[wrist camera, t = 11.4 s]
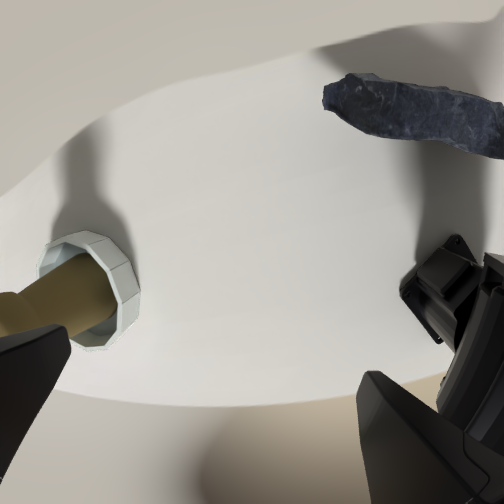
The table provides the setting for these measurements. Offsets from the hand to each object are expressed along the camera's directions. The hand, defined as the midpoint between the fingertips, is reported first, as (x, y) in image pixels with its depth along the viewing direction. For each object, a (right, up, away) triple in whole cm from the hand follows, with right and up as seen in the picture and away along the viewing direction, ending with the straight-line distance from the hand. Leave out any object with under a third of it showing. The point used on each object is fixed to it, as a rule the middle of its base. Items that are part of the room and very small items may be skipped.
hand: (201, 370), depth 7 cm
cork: (-12, 0, +14) cm, 19 cm away
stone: (+13, +11, +9) cm, 19 cm away
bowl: (-12, 0, +15) cm, 19 cm away
